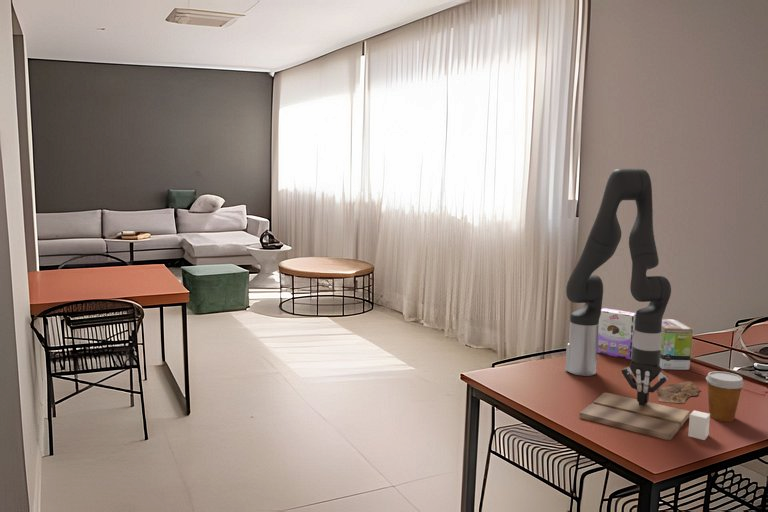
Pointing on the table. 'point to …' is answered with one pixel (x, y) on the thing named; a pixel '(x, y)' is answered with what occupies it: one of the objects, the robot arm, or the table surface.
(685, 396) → the flat brown piece
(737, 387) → the disposable coffee cup
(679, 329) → the tea box
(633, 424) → the floor board
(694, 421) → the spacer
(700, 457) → the table surface
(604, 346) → the candy box
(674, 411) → the board
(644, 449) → the table surface
